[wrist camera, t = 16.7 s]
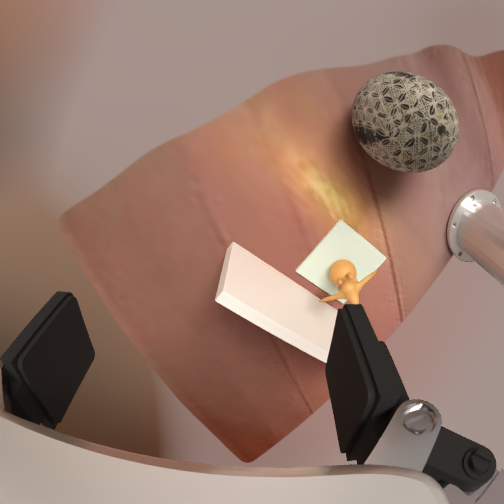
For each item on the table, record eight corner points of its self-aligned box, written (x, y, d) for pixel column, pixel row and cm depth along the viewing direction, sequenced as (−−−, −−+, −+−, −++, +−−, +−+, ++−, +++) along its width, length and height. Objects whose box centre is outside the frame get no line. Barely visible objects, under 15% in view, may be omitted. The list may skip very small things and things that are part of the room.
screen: (352, 320, 49) (373, 376, 37) (345, 326, 50) (364, 382, 38) (233, 241, 44) (223, 290, 32) (226, 249, 44) (215, 300, 33)
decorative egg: (403, 70, 32) (466, 58, 19) (426, 149, 37) (491, 171, 23) (327, 88, 35) (364, 74, 21) (355, 171, 39) (400, 202, 25)
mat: (385, 256, 44) (386, 258, 44) (342, 302, 48) (343, 303, 47) (340, 218, 42) (340, 219, 42) (295, 270, 45) (295, 271, 45)
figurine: (320, 289, 46) (336, 341, 35) (302, 259, 44) (315, 307, 33) (368, 263, 44) (397, 309, 33) (353, 231, 42) (382, 272, 31)
